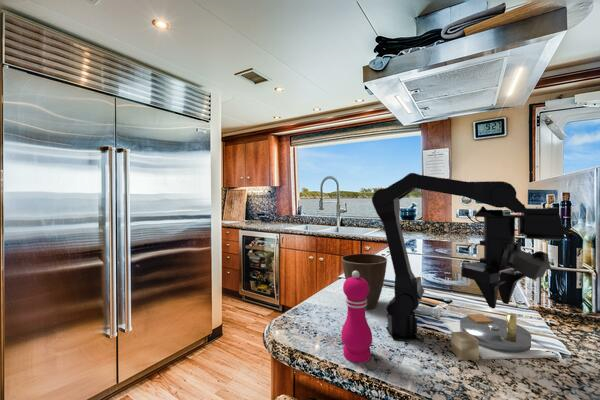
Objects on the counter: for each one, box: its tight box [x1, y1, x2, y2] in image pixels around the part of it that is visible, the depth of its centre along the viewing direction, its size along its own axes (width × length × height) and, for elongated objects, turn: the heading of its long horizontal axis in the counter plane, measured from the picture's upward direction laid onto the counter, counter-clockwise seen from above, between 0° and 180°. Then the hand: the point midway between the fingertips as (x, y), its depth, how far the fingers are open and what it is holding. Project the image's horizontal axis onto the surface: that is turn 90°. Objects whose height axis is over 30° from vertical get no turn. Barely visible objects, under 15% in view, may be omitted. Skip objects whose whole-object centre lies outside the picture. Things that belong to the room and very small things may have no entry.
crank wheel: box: [459, 313, 532, 352], centre depth 72 cm, size 15×15×8 cm
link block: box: [450, 331, 480, 361], centre depth 65 cm, size 4×4×4 cm
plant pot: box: [341, 253, 388, 310], centre depth 95 cm, size 15×15×16 cm
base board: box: [442, 321, 558, 360], centre depth 72 cm, size 17×17×1 cm
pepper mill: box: [340, 271, 373, 364], centre depth 66 cm, size 7×7×20 cm
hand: (499, 305), depth 64 cm, fingers open, 5 cm apart
